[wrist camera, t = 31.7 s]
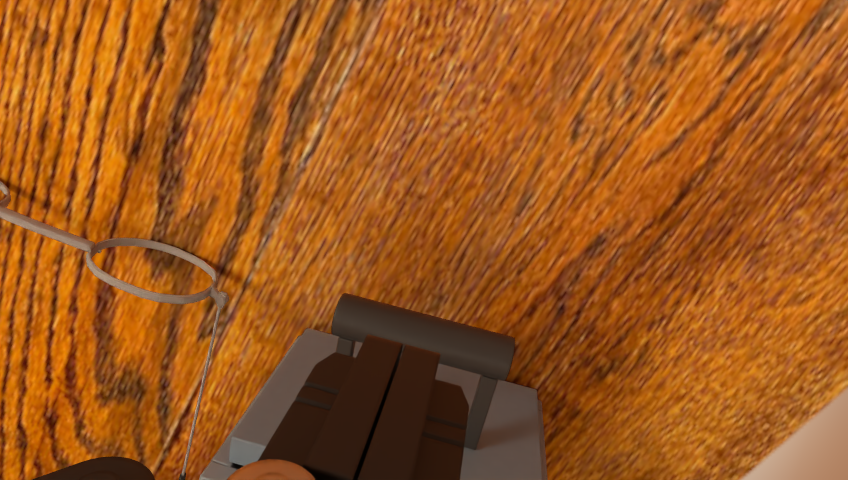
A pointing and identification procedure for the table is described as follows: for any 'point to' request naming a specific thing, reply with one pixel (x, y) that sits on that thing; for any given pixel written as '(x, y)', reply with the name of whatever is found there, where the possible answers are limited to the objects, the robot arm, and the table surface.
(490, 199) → the table surface
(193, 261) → the eyeglasses
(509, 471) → the drawer
